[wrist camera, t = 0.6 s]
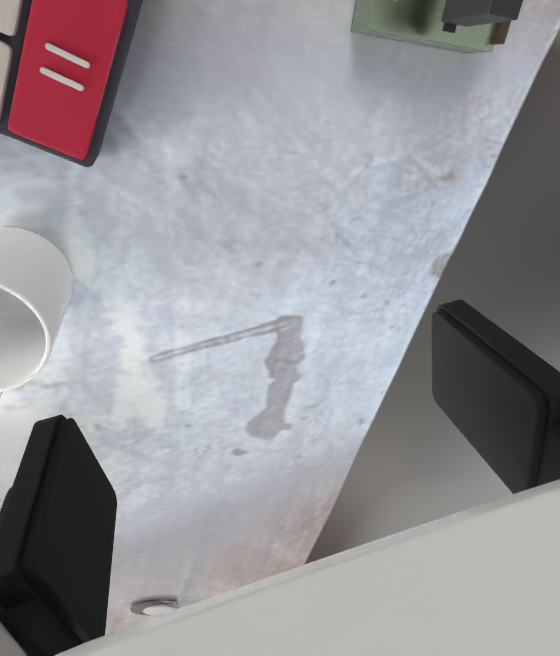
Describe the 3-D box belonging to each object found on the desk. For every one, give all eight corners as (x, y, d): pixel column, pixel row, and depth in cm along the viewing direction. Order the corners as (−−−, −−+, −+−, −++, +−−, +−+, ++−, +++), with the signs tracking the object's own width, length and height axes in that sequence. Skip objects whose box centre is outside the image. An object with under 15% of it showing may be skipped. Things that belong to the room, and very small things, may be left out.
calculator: (-108, 95, 26) (-77, -245, 20) (-75, 88, 30) (-41, -203, 24) (90, 172, 31) (163, -89, 25) (98, 159, 34) (163, -72, 28)
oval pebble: (129, 609, 61) (128, 617, 60) (132, 598, 60) (131, 606, 59) (175, 609, 62) (175, 618, 61) (179, 598, 61) (178, 607, 60)
